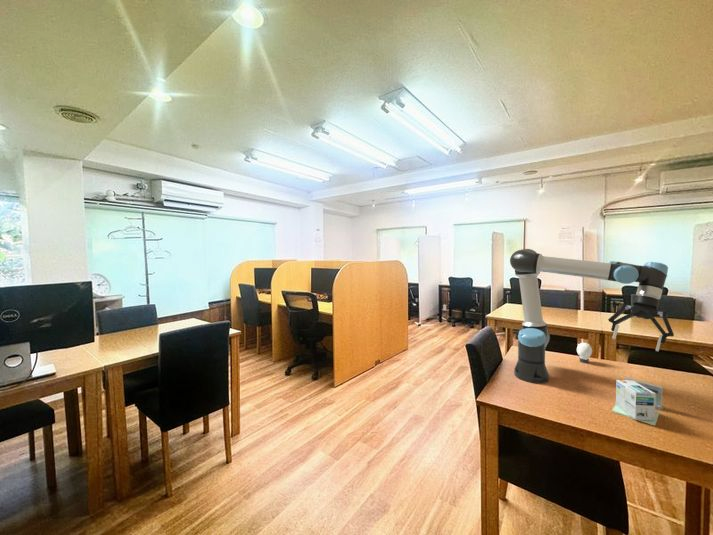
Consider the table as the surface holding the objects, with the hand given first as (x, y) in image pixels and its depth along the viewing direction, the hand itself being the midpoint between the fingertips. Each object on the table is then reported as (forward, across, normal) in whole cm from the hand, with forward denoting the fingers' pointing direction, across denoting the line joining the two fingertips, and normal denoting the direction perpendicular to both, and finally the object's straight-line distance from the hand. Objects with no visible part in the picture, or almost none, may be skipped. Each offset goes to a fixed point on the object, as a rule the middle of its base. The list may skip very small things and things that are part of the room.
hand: (634, 344), depth 122 cm
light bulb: (+13, +22, -37) cm, 45 cm away
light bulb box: (+27, -6, +6) cm, 28 cm away
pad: (+26, -6, +4) cm, 28 cm away
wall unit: (+22, -6, -6) cm, 24 cm away
